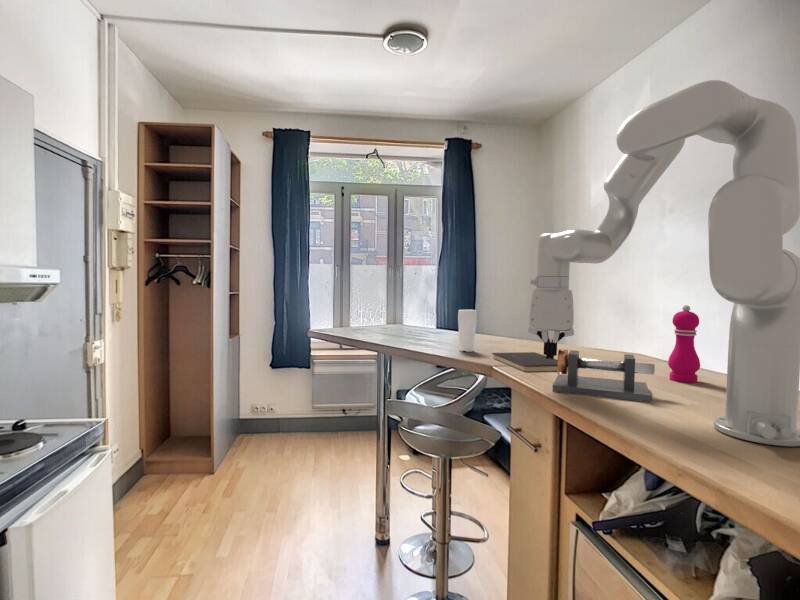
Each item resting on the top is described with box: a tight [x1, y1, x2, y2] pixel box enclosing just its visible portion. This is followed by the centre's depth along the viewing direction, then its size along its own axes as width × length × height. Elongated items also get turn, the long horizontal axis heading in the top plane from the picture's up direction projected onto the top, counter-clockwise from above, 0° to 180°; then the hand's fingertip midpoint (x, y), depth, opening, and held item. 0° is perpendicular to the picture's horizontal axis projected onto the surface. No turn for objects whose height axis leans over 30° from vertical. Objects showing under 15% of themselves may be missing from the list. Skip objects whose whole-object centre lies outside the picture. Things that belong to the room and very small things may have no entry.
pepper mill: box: [667, 304, 701, 384], centre depth 119 cm, size 7×7×20 cm
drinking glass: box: [457, 309, 478, 353], centre depth 164 cm, size 7×7×15 cm
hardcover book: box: [491, 351, 558, 373], centre depth 141 cm, size 16×23×2 cm
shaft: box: [557, 348, 656, 376], centre depth 106 cm, size 20×6×6 cm, turn 66°
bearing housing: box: [552, 349, 652, 403], centre depth 107 cm, size 20×14×8 cm
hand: (550, 358), depth 112 cm, fingers closed
